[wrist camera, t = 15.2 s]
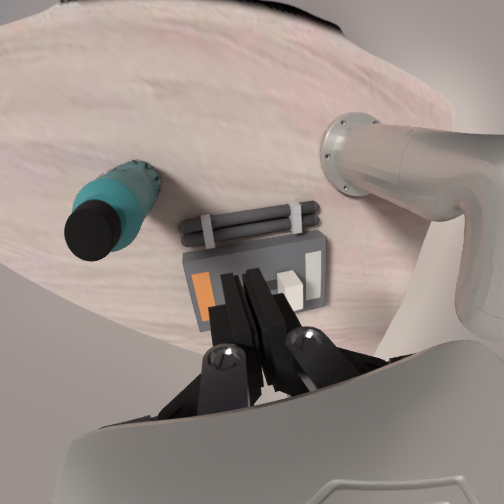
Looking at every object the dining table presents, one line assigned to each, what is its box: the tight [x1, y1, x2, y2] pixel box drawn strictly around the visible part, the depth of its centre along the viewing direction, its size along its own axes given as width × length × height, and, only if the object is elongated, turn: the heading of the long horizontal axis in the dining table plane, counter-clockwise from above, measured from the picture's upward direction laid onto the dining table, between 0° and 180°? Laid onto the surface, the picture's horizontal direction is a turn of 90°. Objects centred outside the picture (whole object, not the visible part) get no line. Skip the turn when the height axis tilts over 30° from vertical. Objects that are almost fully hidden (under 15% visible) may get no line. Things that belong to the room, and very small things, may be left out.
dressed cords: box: [178, 200, 319, 249], centre depth 39 cm, size 20×4×2 cm, turn 96°
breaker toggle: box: [277, 270, 303, 311], centre depth 39 cm, size 2×4×4 cm, turn 6°
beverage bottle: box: [64, 159, 161, 261], centre depth 26 cm, size 6×7×20 cm
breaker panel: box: [182, 230, 326, 332], centre depth 42 cm, size 20×12×3 cm, turn 96°
